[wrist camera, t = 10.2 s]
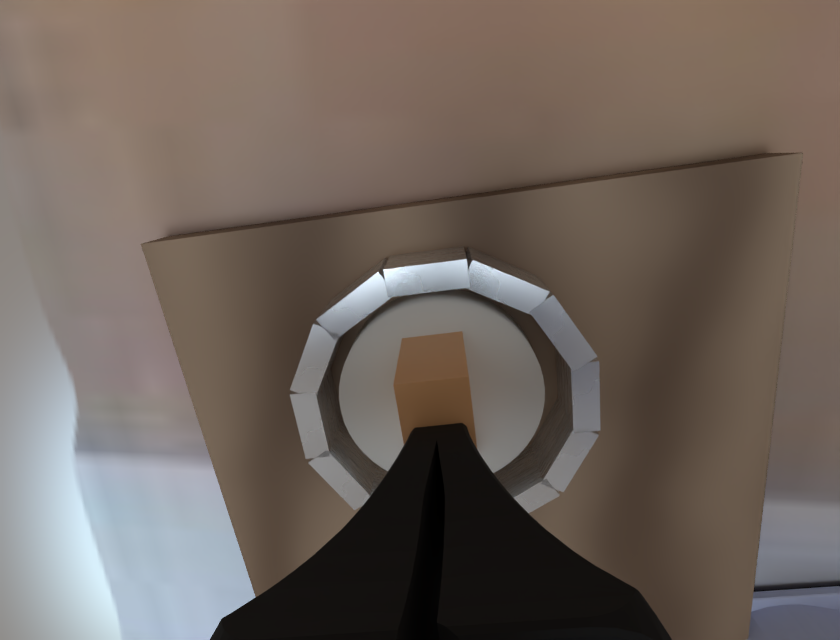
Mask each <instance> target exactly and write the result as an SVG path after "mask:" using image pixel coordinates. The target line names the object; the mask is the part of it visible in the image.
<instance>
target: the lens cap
mask: <svg viewBox="0 0 840 640" xmlns="http://www.w3.org/2000/svg"><path fill="white" fill-rule="evenodd" d="M544 402H545V386H544V379H543V374H542V371H541V367H540V364H539V362H538V360H537V358H536V356H535V353H534V351H533V349H532V347H531V345H530V343H529V341H528V339H527V337H526V335H525V334H524V332H523V331H522V329H521V327H520V326H519V325H518V323H517V322H516V321H515V320H514V319H513V318H512V317H511V316H510V315H509V314H508V313H507V312H506V311H505V310H504V309H502V308H501V307H500V306H498V305H497V304H495V303H493V302H492V301H490V300H488V299H486V298H484V297H482V296H480V295H477V294H474V293H471V292H468V291H463V290H458V289H453V290H445V291H437V292H428V293H420V294H412V295H404V296H401V297H399V298H396V299H394V300H392V301H391V302H389V303H387V304H386V305H384V306H383V307H381V308H380V309H379V310H378V311H377V312H376V313H374V314H373V315H372V316H371V317H370V318H369V319H368V321H367V322H366V323H365V324H364V325H363V327H362V328H361V330H360V331H359V333H358V334H357V337H356V339H355V341H354V343H353V345H352V347H351V350H350V352H349V354H348V356H347V359H346V361H345V363H344V366H343V370H342V373H341V377H340V384H339V403H340V410H341V414H342V417H343V420H344V423H345V425H346V428H347V430H348V432H349V434H350V435H351V437H352V439H353V440H354V442H355V443H356V445H357V446H358V447H359V448H360V449H361V451H362V452H363V453H364V454H365V455H366V456H367V457H369V458H370V459H371V460H372V461H373V462H374V463H376V464H377V465H379V466H380V467H381V468H383V469H385V470H387V471H389V469H390V467H391V466H392V464H393V463H394V461H395V460H396V458H397V456H398V455H399V453H400V451H401V450H402V448H403V446H404V444H405V443H406V441H407V439H408V437H409V435H410V433H411V431H412V430H413V429H414V428H417V427H427V426H436V425H446V424H455V423H463V424H464V425H466V426H467V429H468V432H469V434H470V437H471V439H472V441H473V443H474V444H475V446H476V448H477V450H478V452H479V453H480V455H481V456H482V458H483V459H484V461H485V462H486V464H487V465H488V467H489V468H490V470H491V471H492V472H493V473H494V472H496V471H498V470H500V469H501V468H503V467H504V466H506V465H507V464H509V463H510V462H511V461H512V460H513V459H515V458H516V457H517V456H518V455H519V454H520V453H521V452H522V451H523V449H524V448H525V447H526V446H527V445H528V443H529V442H530V440H531V439H532V437H533V436H534V434H535V432H536V430H537V428H538V426H539V423H540V420H541V417H542V414H543V408H544Z"/></svg>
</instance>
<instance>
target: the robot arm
mask: <svg viewBox="0 0 840 640" xmlns="http://www.w3.org/2000/svg"><path fill="white" fill-rule="evenodd" d="M210 640H672V639H671V637H670V635H669V634H668V632H667V631H666V629H665V628H664V626H663V625H662V623H661V621H660V620H659V618H658V617H657V615H656V614H655V612H654V611H653V610H652V608H651V607H650V605H649V604H648V602H647V601H646V600H645V598H644V597H643V596H642V594H641V593H640V592H639V591H638V590H637V589H636V588H634V587H632V586H631V585H629V584H627V583H625V582H623V581H622V580H620V579H618V578H616V577H615V576H613V575H611V574H609V573H608V572H606V571H604V570H602V569H601V568H599V567H597V566H595V565H594V564H592V563H591V562H589V561H588V560H586V559H585V558H583V557H582V556H580V555H579V554H577V553H576V552H574V551H573V550H572V549H570V548H569V547H568V546H566V545H565V544H564V543H563V542H561V541H560V540H559V539H558V538H556V537H555V536H554V535H553V534H551V533H550V532H549V531H547V530H546V529H545V528H544V527H543V526H542V525H541V524H539V523H538V522H537V521H536V520H535V519H534V518H533V517H532V516H531V515H530V514H529V513H528V512H527V511H526V510H525V509H524V508H523V507H522V506H521V505H520V504H519V503H518V502H517V501H516V500H515V499H514V498H513V497H512V496H511V495H510V493H509V492H508V491H507V490H506V489H505V487H504V486H503V485H502V484H501V483H500V481H499V480H498V479H497V478H496V476H495V475H494V474H493V472H492V471H491V470H490V468H489V467H488V465H487V464H486V462H485V461H484V459H483V458H482V456H481V455H480V453H479V452H478V450H477V448H476V446H475V444H474V443H473V441H472V439H471V437H470V434H469V432H468V429H467V426H466V425H464V424H463V423H455V424H446V425H436V426H427V427H417V428H414V429H413V430H412V431H411V433H410V435H409V437H408V439H407V441H406V443H405V444H404V446H403V448H402V450H401V451H400V453H399V455H398V456H397V458H396V460H395V461H394V463H393V464H392V466H391V467H390V469H389V471H388V472H387V474H386V475H385V477H384V478H383V480H382V481H381V482H380V484H379V485H378V486H377V488H376V489H375V490H374V492H373V493H372V494H371V496H370V497H369V498H368V500H367V501H366V502H365V503H364V505H363V506H362V507H361V508H360V509H359V511H358V512H357V513H356V514H355V515H354V516H353V517H352V519H351V520H350V521H349V522H348V523H347V524H346V525H345V526H344V527H343V528H342V529H341V530H340V531H339V532H338V533H337V534H336V535H335V536H334V537H333V538H332V539H330V540H329V541H328V542H327V543H326V544H325V545H324V546H323V547H322V548H321V549H320V550H318V551H317V552H316V553H315V554H314V555H313V556H312V557H310V558H309V559H308V560H307V561H306V562H304V563H303V564H302V565H301V566H299V567H298V568H297V569H296V570H294V571H293V572H291V573H290V574H289V575H287V576H286V577H285V578H283V579H282V580H281V581H279V582H278V583H277V584H275V585H274V586H272V587H271V588H269V589H268V590H267V591H265V592H263V593H262V594H260V595H259V596H257V597H256V598H254V599H253V600H251V601H249V602H248V603H246V604H245V605H243V606H242V607H240V608H239V609H237V610H235V611H234V612H232V613H231V614H229V615H227V616H226V617H224V618H222V619H221V621H220V623H219V625H218V626H217V628H216V630H215V632H214V633H213V635H212V637H211V639H210ZM746 640H840V586H832V587H818V588H803V589H788V590H773V591H759V592H753V601H752V610H751V619H750V627H749V636H748V639H746Z"/></svg>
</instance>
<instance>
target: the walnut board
mask: <svg viewBox="0 0 840 640" xmlns="http://www.w3.org/2000/svg"><path fill="white" fill-rule="evenodd" d="M802 158H803V153H767V154H760V155H753V156H746V157H739V158H731V159H724V160H717V161H710V162H702V163H695V164H688V165H681V166H674V167H666V168H659V169H652V170H645V171H638V172H630V173H623V174H616V175H609V176H601V177H594V178H587V179H580V180H573V181H565V182H558V183H551V184H544V185H537V186H529V187H522V188H515V189H508V190H500V191H493V192H486V193H479V194H472V195H464V196H457V197H450V198H443V199H435V200H428V201H421V202H414V203H407V204H399V205H392V206H385V207H378V208H371V209H363V210H356V211H349V212H342V213H334V214H327V215H320V216H313V217H306V218H298V219H291V220H284V221H277V222H270V223H262V224H255V225H248V226H241V227H233V228H226V229H219V230H212V231H205V232H197V233H190V234H183V235H176V236H169V237H164V238H160V239H157V240H153V241H150V242H146V243H143V244H141V246H142V249H143V252H144V255H145V258H146V261H147V264H148V267H149V270H150V274H151V277H152V280H153V283H154V286H155V289H156V292H157V295H158V298H159V301H160V304H161V307H162V310H163V313H164V317H165V320H166V323H167V326H168V329H169V332H170V335H171V338H172V341H173V344H174V347H175V350H176V353H177V356H178V360H179V363H180V366H181V369H182V372H183V375H184V378H185V381H186V384H187V387H188V390H189V393H190V396H191V399H192V403H193V406H194V409H195V412H196V415H197V418H198V421H199V424H200V427H201V430H202V433H203V436H204V439H205V442H206V446H207V449H208V452H209V455H210V458H211V461H212V464H213V467H214V470H215V473H216V476H217V479H218V482H219V485H220V489H221V492H222V495H223V498H224V501H225V504H226V507H227V510H228V513H229V516H230V519H231V522H232V525H233V528H234V532H235V535H236V538H237V541H238V544H239V547H240V550H241V553H242V556H243V559H244V562H245V565H246V568H247V571H248V575H249V578H250V581H251V584H252V587H253V590H254V593H255V596H256V597H257V596H259V595H260V594H262V593H263V592H265V591H267V590H268V589H269V588H271V587H272V586H274V585H275V584H277V583H278V582H279V581H281V580H282V579H283V578H285V577H286V576H287V575H289V574H290V573H291V572H293V571H294V570H296V569H297V568H298V567H299V566H301V565H302V564H303V563H304V562H306V561H307V560H308V559H309V558H310V557H312V556H313V555H314V554H315V553H316V552H317V551H318V550H320V549H321V548H322V547H323V546H324V545H325V544H326V543H327V542H328V541H329V540H330V539H332V538H333V537H334V536H335V535H336V534H337V533H338V532H339V531H340V530H341V529H342V528H343V527H344V526H345V525H346V524H347V523H348V522H349V521H350V520H351V519H352V517H353V516H354V515H355V514H356V513H357V512H358V511H359V508H360V507H359V508H358V509H356V510H354V509H353V508H352V507H351V506H350V505H349V504H348V503H347V502H346V501H345V500H344V499H343V498H342V497H341V496H340V495H339V494H338V493H337V492H336V491H335V490H334V489H333V488H332V487H331V486H330V485H329V484H328V483H327V482H326V481H325V480H324V479H323V478H322V477H321V476H320V475H319V474H318V473H317V471H316V470H315V469H314V468H313V467H312V466H311V465H310V464H309V463H308V462H309V460H310V459H306V458H305V454H304V450H303V446H302V442H301V438H300V434H299V430H298V426H297V422H296V418H295V414H294V410H293V406H292V402H291V398H290V393H291V392H292V391H291V390H290V388H291V385H292V382H293V380H294V377H295V374H296V371H297V368H298V365H299V363H300V360H301V357H302V354H303V351H304V348H305V345H306V343H307V340H308V337H309V334H310V331H311V328H312V326H313V323H314V322H315V321H316V319H317V318H318V317H319V315H320V314H321V313H322V311H323V310H324V309H325V307H326V306H327V305H328V304H329V302H330V301H331V300H332V299H333V298H334V297H336V296H337V295H338V294H340V293H341V292H342V291H343V290H345V289H346V288H347V287H349V286H350V285H351V284H352V283H354V282H355V281H356V280H358V279H359V278H360V277H361V276H363V275H364V274H365V273H367V272H368V271H369V270H370V269H372V268H373V267H374V266H376V265H377V264H378V263H379V262H381V261H382V260H383V259H385V258H387V260H388V259H389V257H390V256H392V255H399V254H407V253H415V252H422V251H430V250H438V249H445V248H453V247H461V246H463V247H464V251H465V253H466V251H467V249H468V247H470V248H472V249H475V250H477V251H480V252H482V253H484V254H487V255H489V256H491V257H494V258H496V259H499V260H501V261H503V262H506V263H508V264H511V265H513V266H515V267H518V268H520V269H523V270H525V271H527V272H530V273H532V274H535V275H536V276H537V277H538V278H540V279H541V281H542V282H543V283H544V284H545V285H546V286H547V288H548V289H549V290H550V291H551V292H552V294H553V295H554V296H555V298H556V299H557V300H558V302H559V303H560V305H561V306H562V307H563V309H564V310H565V312H566V313H567V314H568V316H569V317H570V319H571V320H572V321H573V323H574V324H575V326H576V327H577V328H578V330H579V331H580V333H581V334H582V335H583V337H584V338H585V340H586V341H587V342H588V344H589V345H590V347H591V348H592V349H593V351H594V352H595V354H596V355H597V356H598V357H596V358H597V359H598V360H599V379H600V431H597V432H598V434H599V436H598V438H597V439H596V441H595V443H594V444H593V446H592V447H591V449H590V451H589V452H588V454H587V455H586V457H585V459H584V460H583V462H582V463H581V465H580V467H579V468H578V470H577V471H576V473H575V475H574V476H573V478H572V479H571V481H570V483H569V484H568V486H567V488H566V489H565V491H564V492H561V491H559V494H560V496H558V497H557V498H555V499H553V500H551V501H550V502H548V503H546V504H544V505H543V506H541V507H539V508H537V509H536V510H534V511H532V512H530V513H529V514H530V515H531V516H532V517H533V518H534V519H535V520H536V521H537V522H538V523H539V524H541V525H542V526H543V527H544V528H545V529H546V530H547V531H549V532H550V533H551V534H553V535H554V536H555V537H556V538H558V539H559V540H560V541H561V542H563V543H564V544H565V545H566V546H568V547H569V548H570V549H572V550H573V551H574V552H576V553H577V554H579V555H580V556H582V557H583V558H585V559H586V560H588V561H589V562H591V563H592V564H594V565H595V566H597V567H599V568H601V569H602V570H604V571H606V572H608V573H609V574H611V575H613V576H615V577H616V578H618V579H620V580H622V581H623V582H625V583H627V584H629V585H631V586H632V587H634V588H636V589H637V590H638V591H639V592H640V593H641V594H642V596H643V597H644V598H645V600H646V601H647V602H648V604H649V605H650V607H651V608H652V610H653V611H654V612H655V614H656V615H657V617H658V618H659V620H660V621H661V623H662V625H663V626H664V628H665V629H666V631H667V632H668V634H669V635H670V637H671V639H672V640H746V639H748V636H749V627H750V619H751V610H752V601H753V592H754V583H755V574H756V565H757V557H758V548H759V539H760V530H761V521H762V512H763V503H764V495H765V486H766V477H767V468H768V459H769V450H770V441H771V433H772V424H773V415H774V406H775V397H776V388H777V379H778V371H779V362H780V353H781V344H782V335H783V326H784V317H785V308H786V300H787V291H788V282H789V273H790V264H791V255H792V246H793V238H794V229H795V220H796V211H797V202H798V193H799V184H800V176H801V167H802ZM458 290H463V291H468V292H471V293H474V294H477V295H480V296H482V297H484V298H486V299H488V300H490V301H492V302H493V303H495V304H497V305H498V306H500V307H501V308H502V309H504V310H505V311H506V312H507V313H508V314H509V315H510V316H511V317H512V318H513V319H514V320H515V321H516V322H517V323H518V325H519V326H520V327H521V329H522V331H523V332H524V334H525V335H526V337H527V339H528V341H529V343H530V345H531V347H532V349H533V351H534V353H535V356H536V358H537V360H538V362H539V364H540V367H541V371H542V374H543V379H544V386H545V402H544V408H543V414H542V417H541V420H540V423H539V426H538V428H537V430H536V432H535V434H534V436H533V437H532V439H531V440H530V442H529V443H528V445H527V446H526V447H528V446H530V445H531V444H532V442H533V440H534V439H535V437H536V435H537V433H538V432H539V430H540V428H541V426H542V425H543V423H544V421H545V419H546V418H547V416H548V414H549V412H550V411H551V409H552V407H553V405H554V404H555V402H556V400H557V398H558V392H557V372H556V352H555V346H554V345H553V343H552V342H551V341H550V339H549V338H548V336H547V335H546V334H545V332H544V331H543V330H542V328H541V327H540V326H539V324H538V323H537V322H536V320H535V319H534V317H533V316H532V315H530V314H528V313H525V312H523V311H520V310H518V309H515V308H513V307H510V306H508V305H506V304H503V303H501V302H498V301H496V300H493V299H491V298H488V297H486V296H484V295H481V294H479V293H476V292H474V291H471V290H469V289H466V288H461V289H458ZM399 297H401V296H396V297H392V298H390V299H389V300H388V301H386V302H385V303H384V304H382V305H381V306H380V307H378V308H377V309H376V310H374V311H373V312H372V313H370V314H369V315H368V316H366V317H365V318H364V319H362V320H361V321H360V322H358V323H357V324H356V325H354V326H353V327H352V328H350V329H349V330H348V331H346V332H345V333H344V334H343V337H342V339H341V342H340V345H339V347H338V350H337V353H336V355H335V358H334V361H333V363H332V366H331V372H332V377H333V382H334V386H335V391H336V395H337V400H338V405H339V409H340V403H339V384H340V377H341V373H342V370H343V366H344V363H345V361H346V359H347V356H348V354H349V352H350V350H351V347H352V345H353V343H354V341H355V339H356V337H357V334H358V333H359V331H360V330H361V328H362V327H363V325H364V324H365V323H366V322H367V321H368V319H369V318H370V317H371V316H372V315H373V314H374V313H376V312H377V311H378V310H379V309H380V308H381V307H383V306H384V305H386V304H387V303H389V302H391V301H392V300H394V299H396V298H399ZM340 414H341V410H340ZM341 419H342V421H343V422H344V420H343V417H342V414H341ZM526 447H525V448H526ZM525 448H524V449H525Z"/></svg>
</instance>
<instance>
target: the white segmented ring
mask: <svg viewBox="0 0 840 640" xmlns="http://www.w3.org/2000/svg"><path fill="white" fill-rule="evenodd" d="M461 288H466V289H469V290H471V291H474V292H476V293H479V294H481V295H484V296H486V297H488V298H491V299H493V300H496V301H498V302H501V303H503V304H506V305H508V306H510V307H513V308H515V309H518V310H520V311H523V312H525V313H528V314H530V315H532V316H533V317H534V319H535V320H536V322H537V323H538V324H539V326H540V327H541V328H542V330H543V331H544V332H545V334H546V335H547V336H548V338H549V339H550V341H551V342H552V343H553V345H554V346H555V352H556V372H557V392H558V398H557V400H556V402H555V404H554V405H553V407H552V409H551V411H550V412H549V414H548V416H547V418H546V419H545V421H544V423H543V425H542V426H541V428H540V430H539V432H538V433H537V435H536V437H535V439H534V440H533V442H532V444H531V445H530V446H528V447H526V448H525V449H523V451H522V452H521V453H520V454H519V455H518V456H517V457H516V458H515V459H513V460H512V461H511V462H510V463H509V464H507V465H506V466H504V467H503V468H501V469H500V470H498V471H496V472H494V473H493V474H494V475H495V476H496V478H497V479H498V480H499V481H500V483H501V484H502V485H503V486H504V487H505V489H506V490H507V491H508V492H509V493H510V495H511V496H512V497H513V498H514V499H515V500H516V501H517V502H518V503H519V504H520V505H521V506H522V507H523V508H524V509H525V510H526V511H527V512H528V513H530V512H532V511H534V510H536V509H537V508H539V507H541V506H543V505H544V504H546V503H548V502H550V501H551V500H553V499H555V498H557V497H558V496H560V494H559V491H561V492H564V491H565V489H566V488H567V486H568V484H569V483H570V481H571V479H572V478H573V476H574V475H575V473H576V471H577V470H578V468H579V467H580V465H581V463H582V462H583V460H584V459H585V457H586V455H587V454H588V452H589V451H590V449H591V447H592V446H593V444H594V443H595V441H596V439H597V438H598V436H599V434H598V432H597V431H600V379H599V360H598V359H597V358H596V357H598V356H597V355H596V354H595V352H594V351H593V349H592V348H591V347H590V345H589V344H588V342H587V341H586V340H585V338H584V337H583V335H582V334H581V333H580V331H579V330H578V328H577V327H576V326H575V324H574V323H573V321H572V320H571V319H570V317H569V316H568V314H567V313H566V312H565V310H564V309H563V307H562V306H561V305H560V303H559V302H558V300H557V299H556V298H555V296H554V295H553V294H552V292H551V291H550V290H549V289H548V288H547V286H546V285H545V284H544V283H543V282H542V281H541V279H540V278H538V277H537V276H536V275H535V274H532V273H530V272H527V271H525V270H523V269H520V268H518V267H515V266H513V265H511V264H508V263H506V262H503V261H501V260H499V259H496V258H494V257H491V256H489V255H487V254H484V253H482V252H480V251H477V250H475V249H472V248H470V247H468V249H467V251H466V253H465V251H464V247H463V246H461V247H453V248H445V249H438V250H430V251H422V252H415V253H407V254H399V255H392V256H390V257H389V259H388V260H387V258H385V259H383V260H382V261H381V262H379V263H378V264H377V265H376V266H374V267H373V268H372V269H370V270H369V271H368V272H367V273H365V274H364V275H363V276H361V277H360V278H359V279H358V280H356V281H355V282H354V283H352V284H351V285H350V286H349V287H347V288H346V289H345V290H343V291H342V292H341V293H340V294H338V295H337V296H336V297H334V298H333V299H332V300H331V301H330V302H329V304H328V305H327V306H326V307H325V309H324V310H323V311H322V313H321V314H320V315H319V317H318V318H317V319H316V321H315V322H314V323H313V326H312V328H311V331H310V334H309V337H308V340H307V343H306V345H305V348H304V351H303V354H302V357H301V360H300V363H299V365H298V368H297V371H296V374H295V377H294V380H293V382H292V385H291V388H290V390H291V391H292V392H291V393H290V398H291V402H292V406H293V410H294V414H295V418H296V422H297V426H298V430H299V434H300V438H301V442H302V446H303V450H304V454H305V458H306V459H310V460H309V462H308V463H309V464H310V465H311V466H312V467H313V468H314V469H315V470H316V471H317V473H318V474H319V475H320V476H321V477H322V478H323V479H324V480H325V481H326V482H327V483H328V484H329V485H330V486H331V487H332V488H333V489H334V490H335V491H336V492H337V493H338V494H339V495H340V496H341V497H342V498H343V499H344V500H345V501H346V502H347V503H348V504H349V505H350V506H351V507H352V508H353V509H354V510H356V509H358V508H359V507H360V508H361V507H362V506H363V505H364V503H365V502H366V501H367V500H368V498H369V497H370V496H371V494H372V493H373V492H374V490H375V489H376V488H377V486H378V485H379V484H380V482H381V481H382V480H383V478H384V477H385V475H386V474H387V472H388V471H387V470H385V469H383V468H381V467H380V466H379V465H377V464H376V463H374V462H373V461H372V460H371V459H370V458H369V457H367V456H366V455H365V454H364V453H363V452H362V451H361V449H360V448H359V447H358V446H357V445H356V443H355V442H354V440H353V439H352V437H351V435H350V434H349V432H348V430H347V428H346V425H345V423H344V422H343V421H342V419H341V414H340V409H339V405H338V400H337V395H336V391H335V386H334V382H333V377H332V372H331V366H332V363H333V361H334V358H335V355H336V353H337V350H338V347H339V345H340V342H341V339H342V337H343V334H344V333H345V332H346V331H348V330H349V329H350V328H352V327H353V326H354V325H356V324H357V323H358V322H360V321H361V320H362V319H364V318H365V317H366V316H368V315H369V314H370V313H372V312H373V311H374V310H376V309H377V308H378V307H380V306H381V305H382V304H384V303H385V302H386V301H388V300H389V299H390V298H392V297H396V296H404V295H412V294H420V293H428V292H437V291H445V290H453V289H461ZM360 508H359V509H360Z"/></svg>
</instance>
